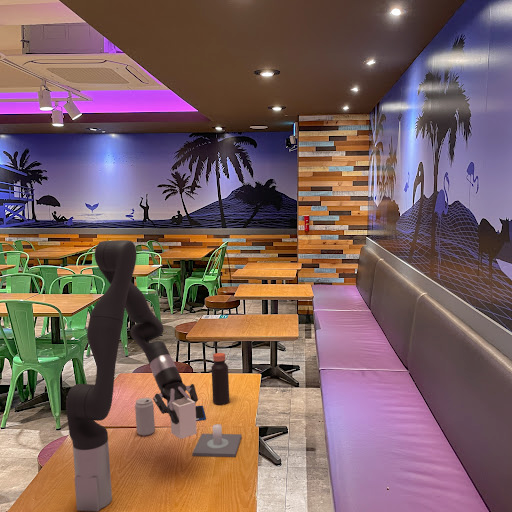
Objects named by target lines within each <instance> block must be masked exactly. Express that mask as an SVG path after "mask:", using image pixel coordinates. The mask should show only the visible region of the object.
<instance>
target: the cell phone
mask: <svg viewBox="0 0 512 512" xmlns="http://www.w3.org/2000/svg"><path fill="white" fill-rule="evenodd" d="M195 406H196V410H197V417H196V422H201V421H206V420H207V417H206V413H205V408H204V405H195Z"/></svg>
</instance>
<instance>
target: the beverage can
mask: <svg viewBox="0 0 512 512" xmlns="http://www.w3.org/2000/svg"><path fill="white" fill-rule="evenodd" d="M134 408H135V409H134V411H135V422H136V423H135V424H136V432H137V434H138V435H139V436H144V437H145V436H150V435H152V434H153V433H154V432H155V430H156V427H155V426H156V423H155V411H154V409H155V407H154V401H153V398H151V397H142V398H138V399H136V400H135V404H134Z"/></svg>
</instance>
